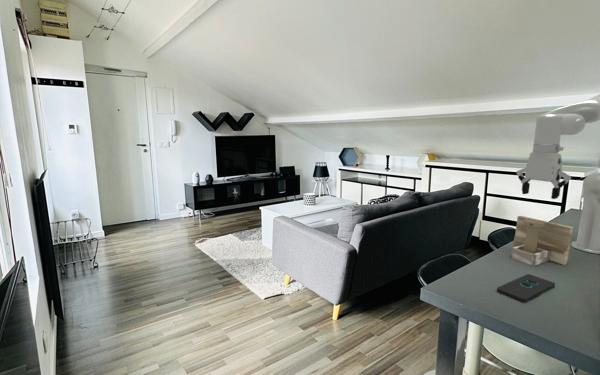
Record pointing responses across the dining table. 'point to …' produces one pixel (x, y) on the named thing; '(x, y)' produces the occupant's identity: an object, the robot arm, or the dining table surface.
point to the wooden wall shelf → (543, 243)
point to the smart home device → (525, 288)
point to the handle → (532, 235)
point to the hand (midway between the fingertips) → (539, 196)
